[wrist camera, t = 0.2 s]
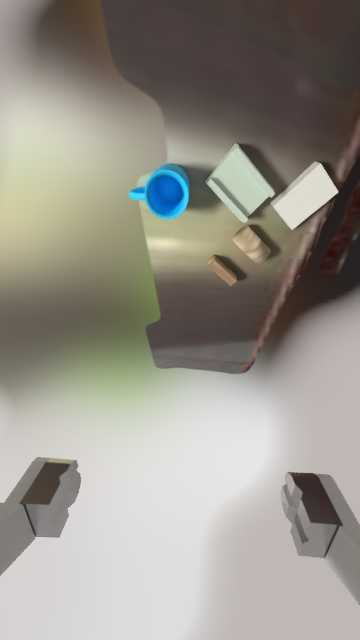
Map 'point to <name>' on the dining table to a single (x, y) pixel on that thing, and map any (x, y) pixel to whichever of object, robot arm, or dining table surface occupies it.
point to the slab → (304, 195)
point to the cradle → (239, 183)
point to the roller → (251, 245)
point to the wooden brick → (222, 270)
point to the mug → (165, 191)
